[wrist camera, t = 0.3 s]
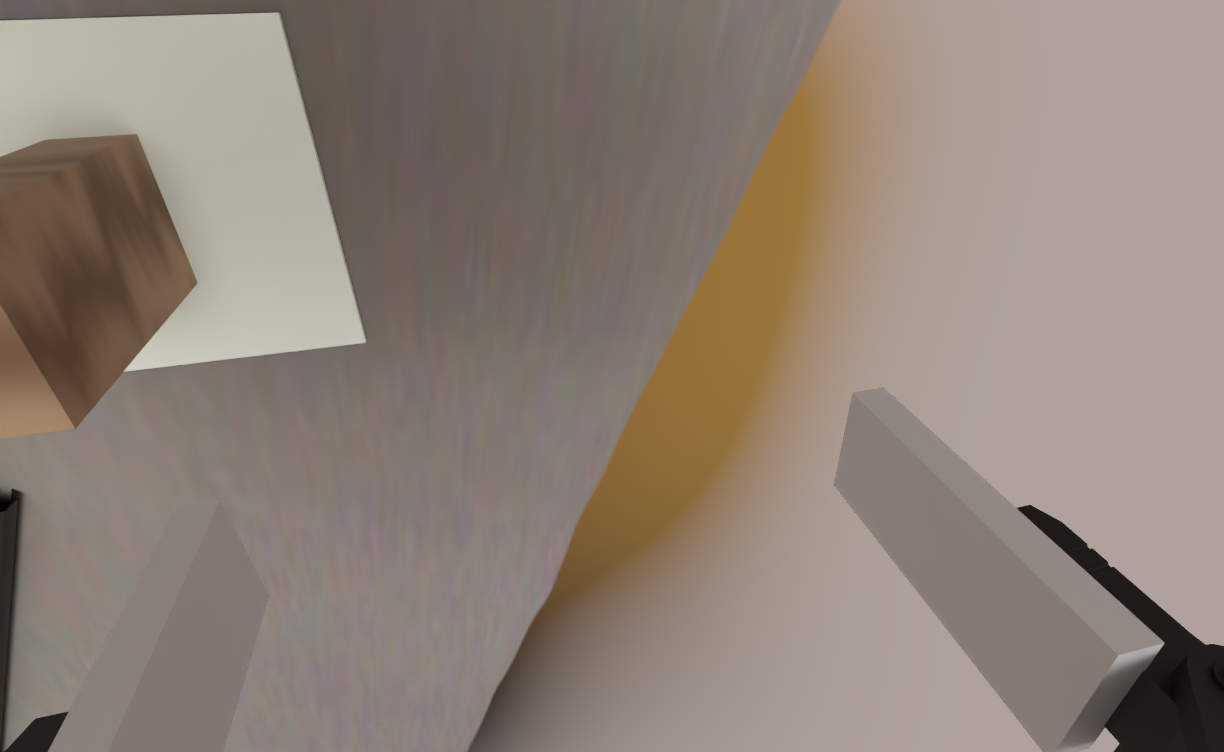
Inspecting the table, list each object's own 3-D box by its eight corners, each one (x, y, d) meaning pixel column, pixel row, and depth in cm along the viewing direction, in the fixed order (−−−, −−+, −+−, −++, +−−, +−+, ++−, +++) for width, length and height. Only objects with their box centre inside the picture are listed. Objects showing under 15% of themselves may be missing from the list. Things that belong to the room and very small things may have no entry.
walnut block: (45, 139, 30) (-205, 234, 19) (136, 134, 31) (-50, 222, 19) (118, 290, 34) (-48, 445, 23) (197, 283, 35) (75, 428, 24)
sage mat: (-529, 35, 25) (-542, 36, 24) (280, 12, 30) (278, 12, 30) (-202, 406, 34) (-208, 411, 34) (366, 339, 40) (365, 342, 39)
